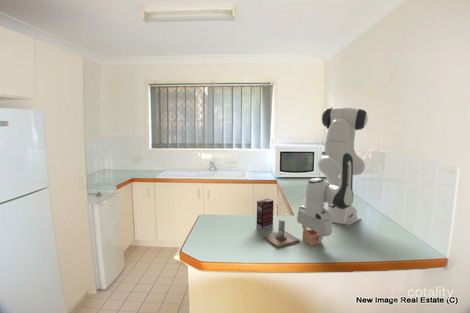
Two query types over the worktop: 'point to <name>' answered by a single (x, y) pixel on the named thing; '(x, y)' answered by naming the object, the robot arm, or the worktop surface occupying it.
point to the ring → (310, 237)
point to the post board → (281, 243)
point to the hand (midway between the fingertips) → (312, 237)
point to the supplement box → (264, 214)
